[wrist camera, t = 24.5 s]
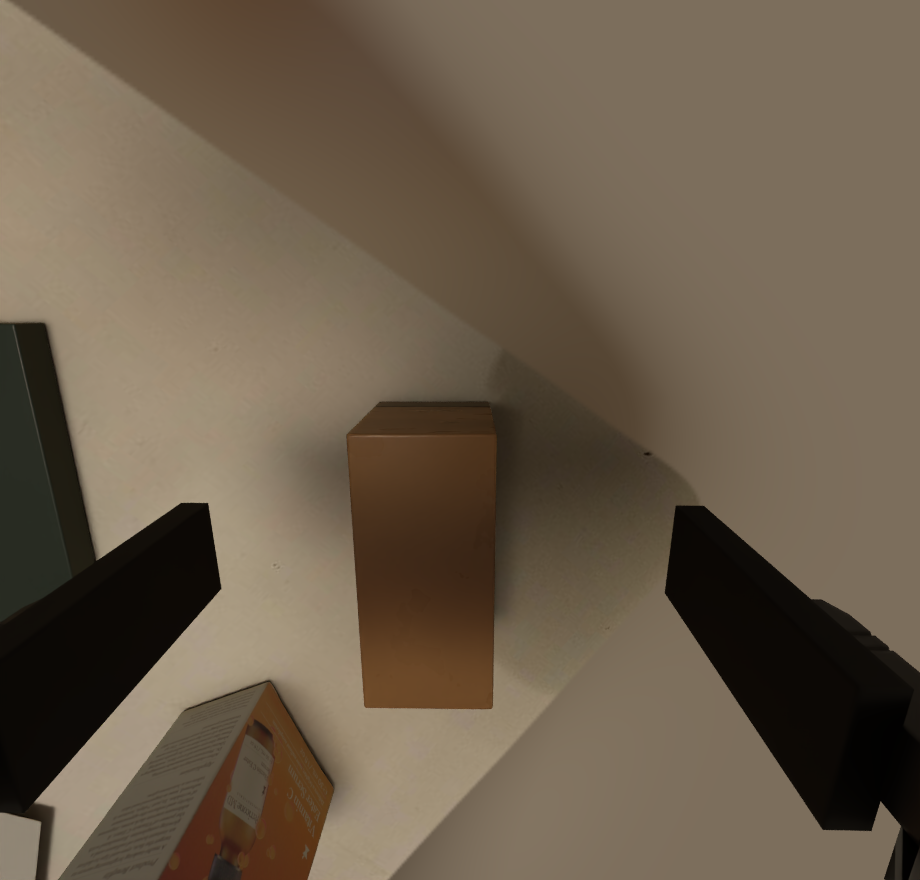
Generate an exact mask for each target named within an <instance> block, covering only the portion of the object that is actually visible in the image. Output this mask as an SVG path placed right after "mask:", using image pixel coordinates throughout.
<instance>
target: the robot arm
mask: <svg viewBox="0 0 920 880" xmlns="http://www.w3.org/2000/svg"><path fill="white" fill-rule="evenodd" d="M220 590H221V583H220V577H219V570H218V564H217V557H216V551H215V545H214V538H213V532H212V525H211V519H210V513H209V506H208V503H181V504H179V505H178V506H176V507H175V508H173V509H172V510H170V511H169V512H168V513H166V514H165V515H163V516H162V517H160V518H159V519H157V520H156V521H154V522H153V523H152V524H150V525H149V526H147V527H146V528H144V529H143V530H141V531H140V532H138V533H137V534H135V535H134V536H133V537H131V538H130V539H128V540H127V541H125V542H124V543H122V544H121V545H119V546H118V547H117V548H115V549H114V550H112V551H111V552H109V553H108V554H106V555H105V556H103V557H102V558H101V559H99V560H98V561H96V562H95V563H93V564H92V565H90V566H89V567H87V568H86V569H84V570H83V571H82V572H80V573H79V574H77V575H76V576H74V577H73V578H71V579H70V580H68V581H67V582H66V583H64V584H63V585H61V586H60V587H58V588H57V589H55V590H54V591H52V592H51V593H50V594H48V595H47V596H45V597H44V598H42V599H40V600H37V601H35V602H33V603H31V604H29V605H27V606H25V607H22V608H21V609H19V610H18V611H17V612H15V613H14V614H12V615H11V616H9V617H8V618H6V619H5V620H3V621H2V622H0V813H25V812H26V811H27V809H28V808H29V807H30V806H31V805H32V804H33V803H34V801H35V800H36V799H37V798H38V797H39V796H40V795H41V793H42V792H43V791H44V790H45V789H46V788H47V787H48V786H49V784H50V783H51V782H52V781H53V780H54V779H55V778H56V776H57V775H58V774H59V773H60V772H61V771H62V770H63V768H64V767H65V766H66V765H67V764H68V763H69V762H70V760H71V759H72V758H73V757H74V756H75V755H76V754H77V752H78V751H79V750H80V749H81V748H82V747H83V746H84V745H85V743H86V742H87V741H88V740H89V739H90V738H91V737H92V735H93V734H94V733H95V732H96V731H97V730H98V729H99V727H100V726H101V725H102V724H103V723H104V722H105V721H106V719H107V718H108V717H109V716H110V715H111V714H112V713H113V712H114V710H115V709H116V708H117V707H118V706H119V705H120V704H121V702H122V701H123V700H124V699H125V698H126V697H127V696H128V694H129V693H130V692H131V691H132V690H133V689H134V688H135V686H136V685H137V684H138V683H139V682H140V681H141V680H142V678H143V677H144V676H145V675H146V674H147V673H148V672H149V671H150V669H151V668H152V667H153V666H154V665H155V664H156V663H157V661H158V660H159V659H160V658H161V657H162V656H163V655H164V653H165V652H166V651H167V650H168V649H169V648H170V647H171V645H172V644H173V643H174V642H175V641H176V640H177V639H178V638H179V636H180V635H181V634H182V633H183V632H184V631H185V630H186V628H187V627H188V626H189V625H190V624H191V623H192V622H193V620H194V619H195V618H196V617H197V616H198V615H199V614H200V612H201V611H202V610H203V609H204V608H205V607H206V606H207V605H208V603H209V602H210V601H211V600H212V599H213V598H214V597H215V595H216V594H217V593H218V592H219V591H220ZM665 594H666V595H667V597H668V598H669V600H670V601H671V603H672V604H673V606H674V607H675V609H676V610H677V612H678V613H679V615H680V616H681V618H682V619H683V621H684V622H685V624H686V625H687V627H688V628H689V630H690V631H691V633H692V634H693V636H694V637H695V639H696V640H697V642H698V643H699V645H700V646H701V648H702V649H703V651H704V652H705V654H706V655H707V657H708V658H709V660H710V661H711V663H712V664H713V666H714V667H715V669H716V670H717V672H718V673H719V675H720V676H721V678H722V679H723V681H724V682H725V684H726V685H727V687H728V688H729V690H730V691H731V693H732V694H733V696H734V697H735V699H736V700H737V702H738V703H739V705H740V706H741V708H742V709H743V711H744V712H745V714H746V715H747V717H748V718H749V720H750V721H751V723H752V724H753V726H754V727H755V729H756V730H757V732H758V733H759V735H760V736H761V738H762V739H763V741H764V742H765V744H766V745H767V747H768V748H769V750H770V751H771V753H772V754H773V756H774V757H775V759H776V760H777V762H778V763H779V765H780V766H781V768H782V769H783V771H784V772H785V774H786V775H787V777H788V778H789V780H790V781H791V783H792V784H793V786H794V787H795V789H796V790H797V792H798V793H799V795H800V796H801V798H802V799H803V800H804V802H805V804H806V805H807V807H808V808H809V810H810V811H811V813H812V814H813V816H814V817H815V819H816V820H817V822H818V823H819V825H820V826H821V828H822V829H823V830H855V831H856V830H857V831H872V827H873V824H874V821H875V817H876V814H877V811H878V808H879V804H880V801H881V802H882V803H883V804H884V806H885V807H886V808H887V809H888V810H889V812H890V813H891V814H892V815H893V816H894V818H895V819H896V820H897V821H898V823H899V824H900V825H901V828H900V831H899V834H898V837H897V840H896V844H895V847H894V850H893V853H892V856H891V859H890V862H889V865H888V868H887V871H886V874H885V877H884V879H885V880H920V672H919V671H917V670H916V669H915V668H914V667H912V666H911V665H910V664H909V663H908V662H906V661H905V660H904V659H903V658H901V657H900V656H899V655H898V654H897V653H895V652H894V651H890V650H889V647H888V646H887V645H886V644H884V643H883V642H882V641H881V640H880V639H878V638H877V637H876V636H872V635H871V633H870V631H868V630H867V629H866V628H865V627H864V626H863V625H861V624H860V623H859V622H858V621H857V620H855V619H854V618H853V617H852V616H850V615H849V614H847V613H845V612H843V611H842V610H840V609H838V608H836V607H834V606H832V605H831V604H829V603H827V602H825V601H823V600H814V599H810V598H809V597H807V595H805V594H804V593H803V592H802V591H801V590H799V588H797V587H796V586H795V585H794V584H793V583H792V582H790V581H789V580H788V579H787V578H786V577H785V576H784V575H783V574H781V573H780V572H779V571H778V570H777V569H776V568H775V567H773V566H772V565H771V564H770V563H768V561H766V560H765V559H764V558H763V557H762V556H761V555H760V554H758V553H757V552H756V551H755V550H754V549H753V548H751V547H750V546H749V545H748V544H747V543H746V542H745V541H744V540H742V539H741V538H740V537H739V536H738V535H737V534H735V533H734V532H733V531H732V530H731V529H730V528H729V527H727V526H726V525H725V524H724V523H723V522H722V521H721V520H719V519H718V518H717V517H716V516H715V515H714V514H712V513H711V512H710V511H709V510H708V509H707V508H706V507H705V506H676V508H675V516H674V524H673V532H672V540H671V548H670V556H669V564H668V572H667V579H666V587H665Z"/></svg>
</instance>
